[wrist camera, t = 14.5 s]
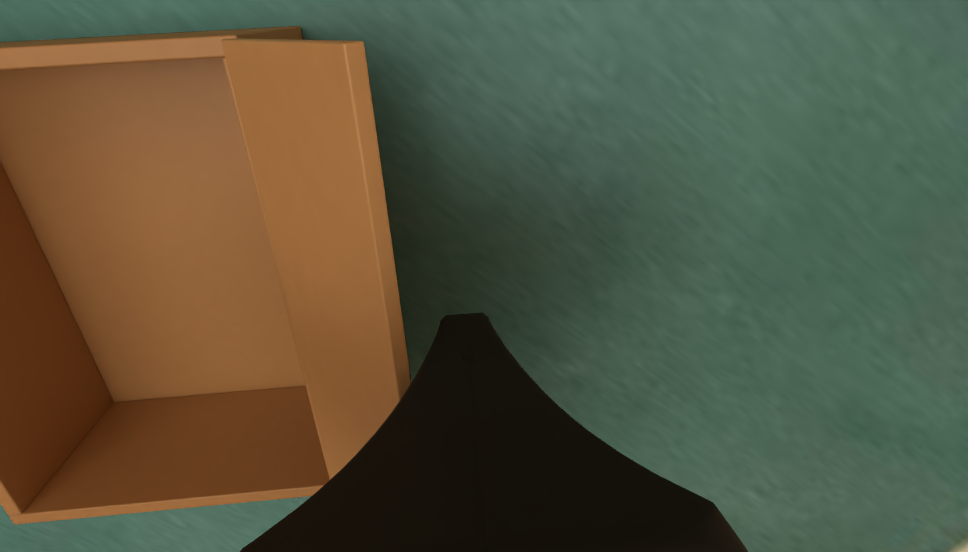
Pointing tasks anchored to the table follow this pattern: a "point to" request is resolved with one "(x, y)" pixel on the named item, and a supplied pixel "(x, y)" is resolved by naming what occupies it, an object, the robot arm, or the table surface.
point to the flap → (326, 226)
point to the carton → (140, 287)
